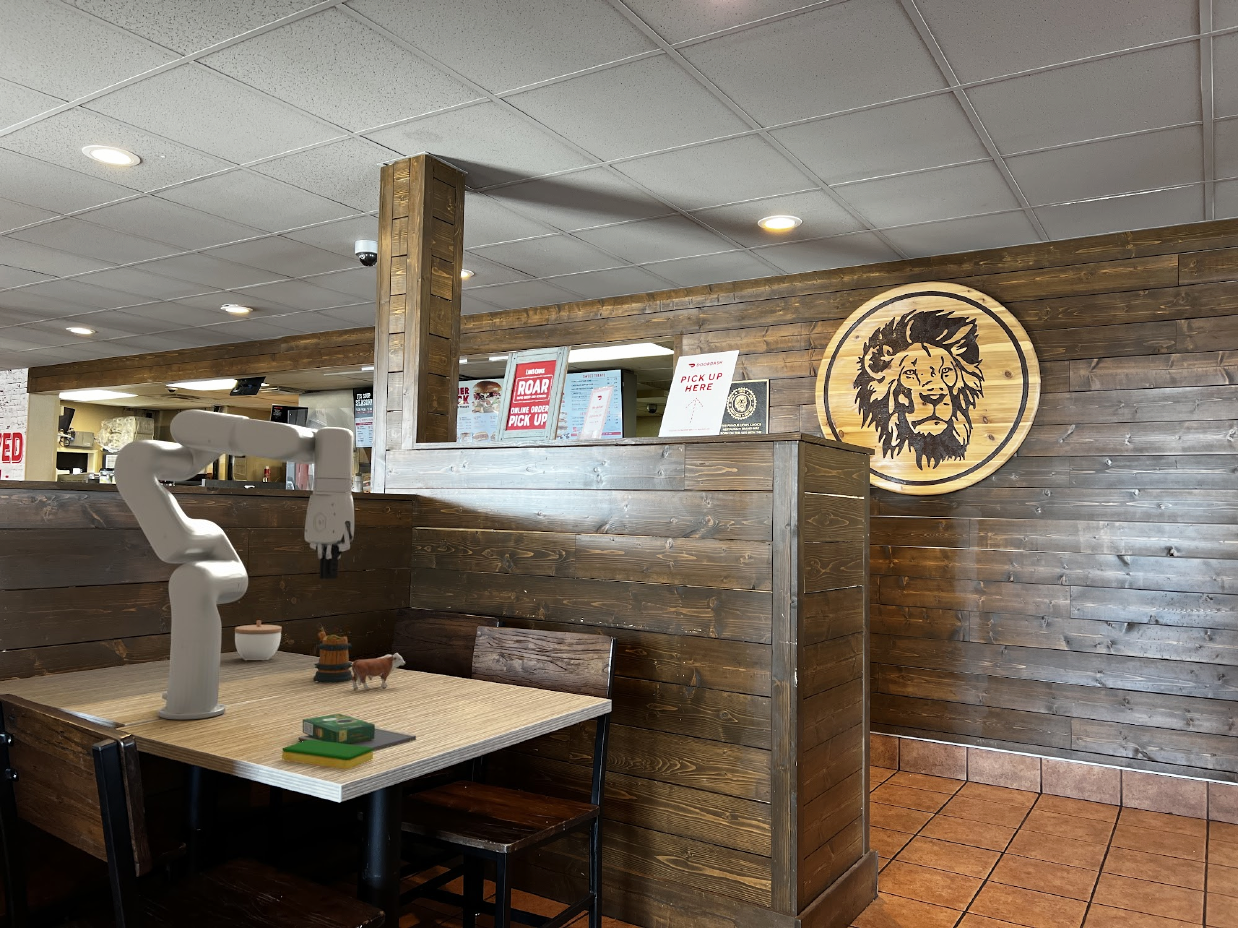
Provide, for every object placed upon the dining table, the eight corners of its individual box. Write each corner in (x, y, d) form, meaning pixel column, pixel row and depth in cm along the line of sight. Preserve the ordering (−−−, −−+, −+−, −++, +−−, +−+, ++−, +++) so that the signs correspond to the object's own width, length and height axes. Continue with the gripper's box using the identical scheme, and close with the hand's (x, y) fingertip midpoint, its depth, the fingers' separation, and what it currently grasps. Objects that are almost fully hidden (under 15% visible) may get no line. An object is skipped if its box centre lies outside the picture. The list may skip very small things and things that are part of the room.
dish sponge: (347, 771, 146) (348, 756, 147) (280, 762, 151) (281, 747, 151) (373, 761, 153) (374, 746, 153) (308, 752, 158) (309, 738, 158)
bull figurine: (406, 686, 220) (407, 653, 220) (353, 691, 212) (354, 657, 212) (399, 683, 223) (400, 651, 224) (346, 688, 215) (348, 654, 216)
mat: (298, 740, 164) (298, 736, 164) (357, 727, 176) (357, 723, 176) (358, 754, 155) (358, 750, 155) (415, 739, 167) (415, 735, 167)
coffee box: (300, 734, 167) (336, 746, 158) (300, 718, 167) (337, 730, 158) (338, 727, 173) (376, 739, 164) (339, 712, 173) (376, 723, 164)
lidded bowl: (288, 656, 262) (289, 618, 263) (267, 663, 249) (269, 623, 250) (247, 654, 263) (249, 617, 264) (224, 661, 251) (226, 622, 251)
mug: (361, 679, 227) (363, 634, 228) (324, 684, 220) (326, 637, 220) (336, 673, 236) (338, 629, 237) (299, 677, 229) (301, 632, 229)
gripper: (293, 487, 182) (288, 577, 180) (342, 487, 174) (338, 581, 172) (322, 489, 188) (318, 575, 187) (372, 489, 180) (368, 579, 179)
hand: (328, 578), depth 180 cm, fingers closed
